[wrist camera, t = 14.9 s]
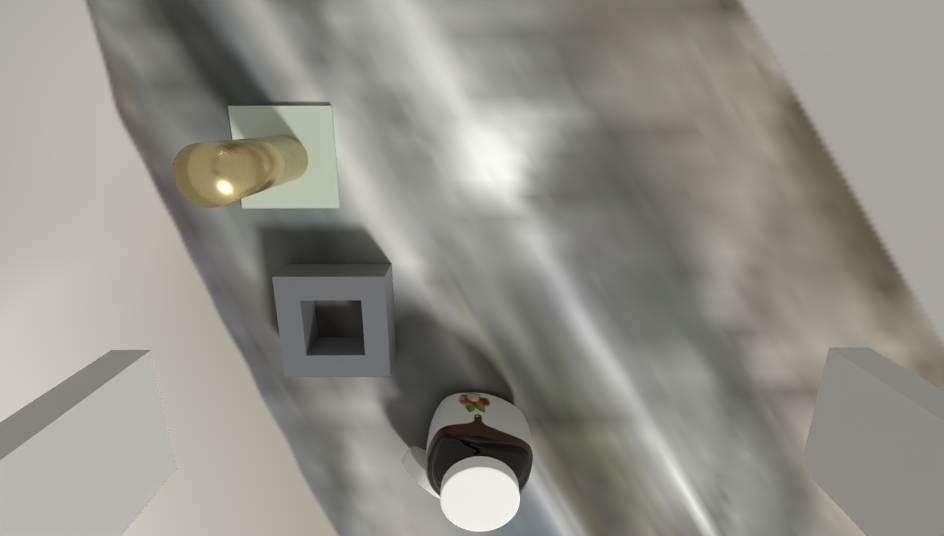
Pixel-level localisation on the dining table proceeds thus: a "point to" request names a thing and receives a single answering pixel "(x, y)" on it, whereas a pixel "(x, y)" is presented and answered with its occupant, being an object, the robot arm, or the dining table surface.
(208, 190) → the plug
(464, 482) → the spread jar
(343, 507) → the dining table surface
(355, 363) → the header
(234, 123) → the mat
